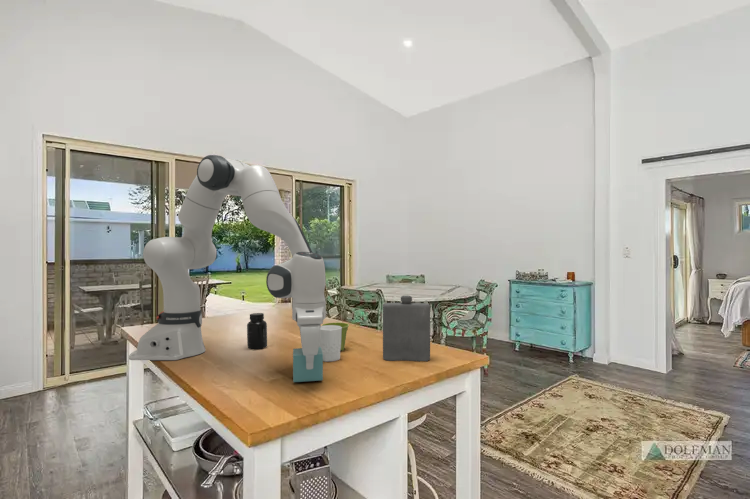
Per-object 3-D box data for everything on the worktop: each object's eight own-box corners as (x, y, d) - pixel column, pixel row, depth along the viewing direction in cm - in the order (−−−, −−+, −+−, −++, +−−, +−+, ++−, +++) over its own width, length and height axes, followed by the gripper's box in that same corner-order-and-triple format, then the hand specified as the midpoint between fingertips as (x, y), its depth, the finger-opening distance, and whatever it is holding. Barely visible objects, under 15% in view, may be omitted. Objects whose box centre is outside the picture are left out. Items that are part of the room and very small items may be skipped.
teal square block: (293, 382, 104) (293, 355, 104) (293, 373, 111) (293, 348, 111) (322, 380, 105) (322, 354, 105) (321, 371, 112) (320, 347, 112)
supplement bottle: (261, 344, 148) (261, 311, 148) (270, 347, 143) (270, 313, 143) (243, 347, 143) (243, 313, 143) (252, 350, 138) (252, 316, 138)
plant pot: (348, 353, 135) (347, 327, 135) (319, 353, 135) (319, 327, 135) (350, 346, 144) (350, 322, 144) (323, 346, 144) (323, 322, 144)
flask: (429, 357, 130) (429, 295, 130) (430, 362, 124) (430, 297, 124) (383, 355, 131) (383, 294, 131) (382, 360, 126) (382, 296, 126)
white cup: (337, 363, 123) (337, 330, 123) (313, 361, 125) (313, 329, 125) (344, 356, 131) (344, 325, 131) (321, 355, 133) (321, 324, 133)
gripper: (296, 307, 118) (297, 354, 118) (297, 319, 98) (297, 376, 98) (318, 306, 119) (318, 353, 119) (323, 318, 99) (323, 374, 99)
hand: (309, 363), depth 108 cm, fingers closed on teal square block, 7 cm apart
